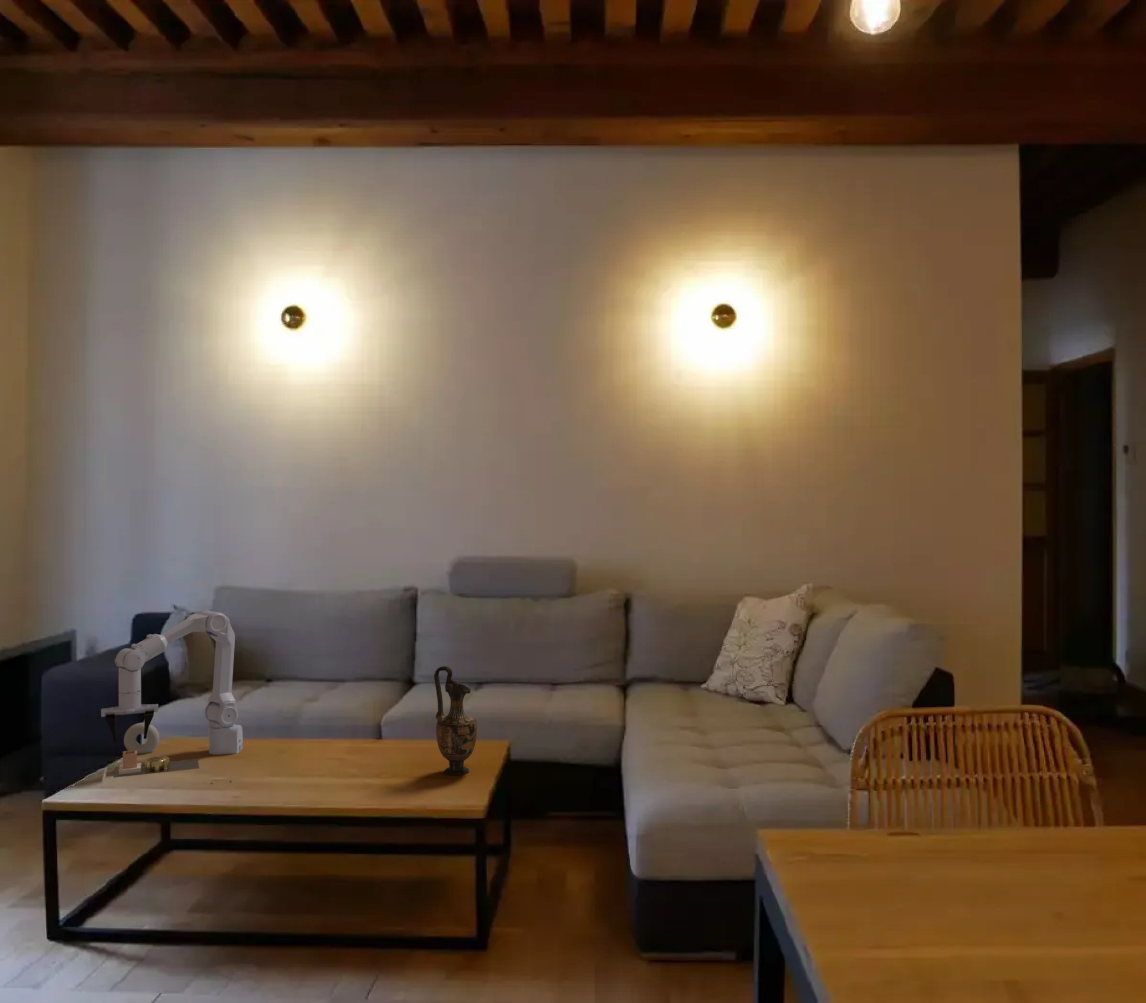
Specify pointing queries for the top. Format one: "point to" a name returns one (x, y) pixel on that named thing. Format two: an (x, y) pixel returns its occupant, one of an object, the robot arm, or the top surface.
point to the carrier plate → (172, 768)
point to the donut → (134, 732)
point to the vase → (454, 725)
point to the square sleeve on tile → (129, 763)
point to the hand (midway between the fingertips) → (130, 739)
